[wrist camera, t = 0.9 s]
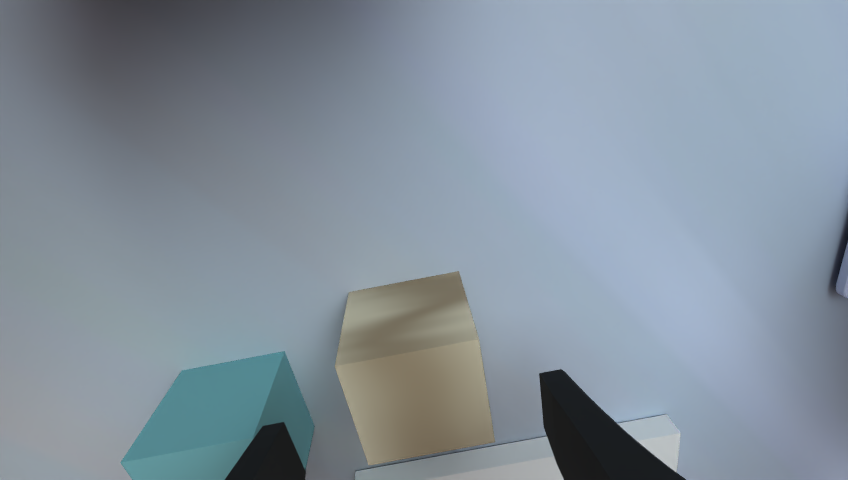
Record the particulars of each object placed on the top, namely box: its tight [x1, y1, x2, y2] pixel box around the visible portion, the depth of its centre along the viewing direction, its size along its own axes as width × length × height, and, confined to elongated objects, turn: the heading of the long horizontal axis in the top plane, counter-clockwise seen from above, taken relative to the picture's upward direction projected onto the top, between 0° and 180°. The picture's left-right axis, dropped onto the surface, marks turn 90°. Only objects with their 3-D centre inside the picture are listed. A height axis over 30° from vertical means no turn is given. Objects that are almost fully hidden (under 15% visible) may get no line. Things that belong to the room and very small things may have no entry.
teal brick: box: [121, 351, 315, 480], centre depth 15 cm, size 4×4×4 cm
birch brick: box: [335, 271, 495, 465], centre depth 14 cm, size 4×4×4 cm
